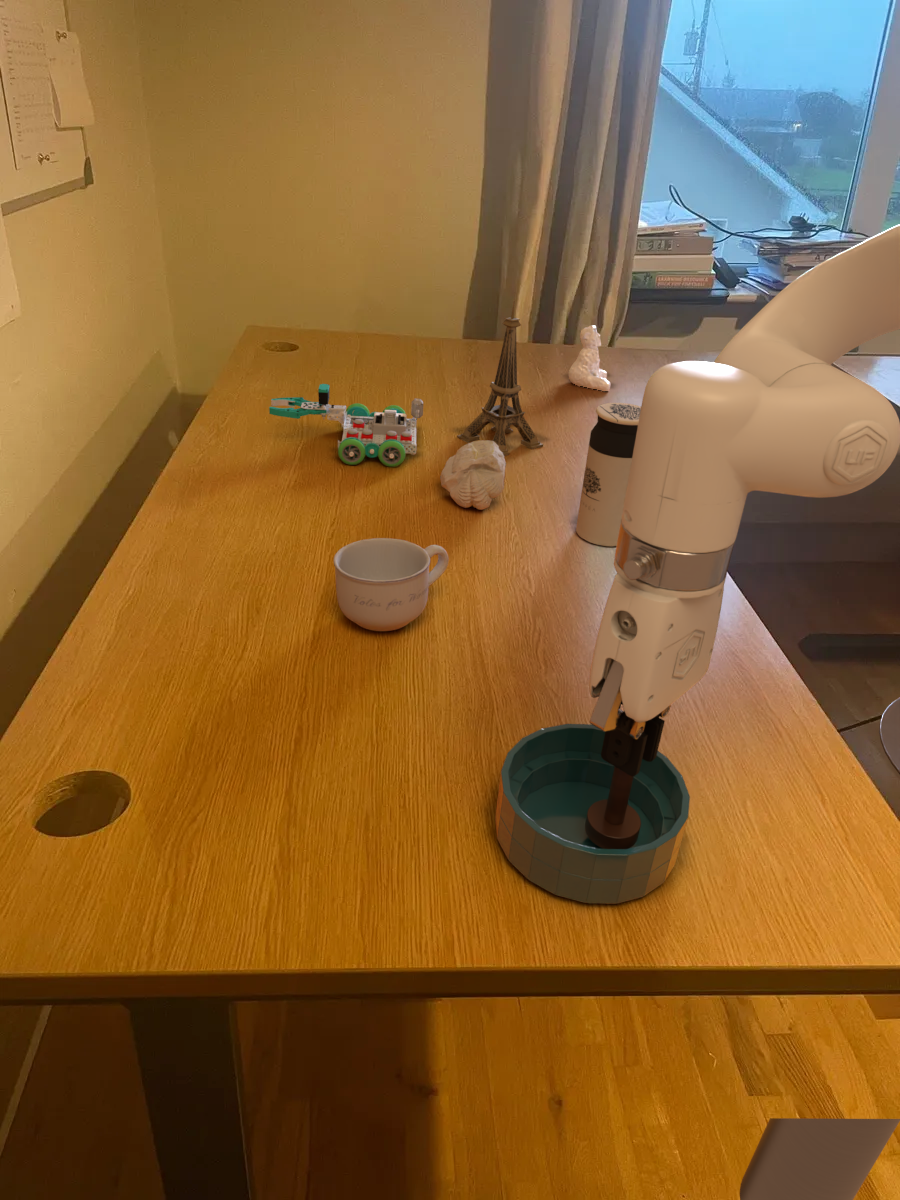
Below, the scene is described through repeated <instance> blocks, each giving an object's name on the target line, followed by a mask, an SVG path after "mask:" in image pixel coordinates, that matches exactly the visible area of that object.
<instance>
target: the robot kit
mask: <svg viewBox="0 0 900 1200" xmlns="http://www.w3.org/2000/svg"><path fill="white" fill-rule="evenodd" d="M317 392H318V394H317V396H318V401H310V400H307V399H304V397H302V396H294V397H293V396H292V397H276V398H271V400H270V401H271V402H270V404H271V405H270V406H269V407H268V412H269V415H272V416H277V417H283V418H290V419H297V420H299V419H301V417H304V416H309V415H313V416H314V415H315V416H316V415H319V416H321V418H322V420H325V418H326V419H327V420H328V421H338V422H339V423H340V425H341V428H342V431H343V432H342V437H341V441H340V440H339V439H337V455H338V458H339V459H340V461H341V462H343V463H344V464H346V465H347V466H357V465H359V464H360V463H362V462H363V461H364V459H365V457H368V458H370V459H371V458H372V459H373V458H374V459H375V458H377V457H378V460H379V462H380V463H381V464H382V465H384V466H385V467H389V468H396V467H398V466H400V465H402V464H403V462H404V461H405V459H406V454H410V455H411V456H415V455H416V454H417V449H418V448H417V446H418V445H417V444H418V443H417V424H418V423H417V421H418V419H420V418H422V417H423V416H424V401H423V400H422V399H421V398H414V399H413V400H411V407H410V409H411V410H410V411H411V412H410V416H412V418H407V413H406V411H405V410H404V409H403V408H402V407H401V406H400V405H395V404H391V405H388V406H386V407H385V408H384V409H383V410H382V412H380V411H372V412H370V409H369V408H368V407H367V406H366V405H364V404H362V403H360V402H359V403H358V402H356V403H352V404H350V405H349V406H348V407H347V406H346V404H345V405H339V404H337V405H335V404H329V401H330V384H328V383H320V384H319V385H318V390H317ZM279 406H283V407H279ZM284 406H285V407H284ZM296 407H298V408H296Z"/></svg>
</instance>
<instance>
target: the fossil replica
mask: <svg viewBox="0 0 900 1200" xmlns="http://www.w3.org/2000/svg"><path fill="white" fill-rule="evenodd" d="M506 467H507V462H506V459H505V456H504V455H503V453H502V452H501V451H500V450H499V446H498V445H497V444H496V443H495V442H494V441H493V440H489V439H486V440H485V439H484V440H482V439H479V440H475V441H471V442H467V443H466V444H464V445H462V446H461V447H460V448H458V449H457V450H456V452H455V454H454V455H452V456H450V457H449V458H448V459H447V460H446V462H445V464H444V467H443V468H442V470H441V473H440V476H439V479H440V482H441V484H440V487H442V488H443V489H445V490H446V491H447V492H449V495H450V498H451V499H452V500H453V501H454V502H455V503H456V504H457V505H458V506H460V507H461V508H465V509H468V508H470V507H473V508H476V510H481V511H482V510H485V509H488V508H490V506H491V502H492V501H493V499H495V498H497V497H499V496H500V495H501V494H502V493H503V491H504V489H505V488H504V487H505V480H506Z"/></svg>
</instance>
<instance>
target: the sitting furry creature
mask: <svg viewBox="0 0 900 1200" xmlns="http://www.w3.org/2000/svg"><path fill="white" fill-rule="evenodd" d="M579 339H580V343H581V346H582V348H581V349H580V350H579V353H578V356H576V360H575V361H574V362H573V363H572V365H571V366H570V368H569V370H568V371H567V378H568V380H569V382H570V383H571V384H573V385H574V384H575V385H574V386H576V385H578V386H577V387H580V386H583V387H582V388H584V387H587V388H586V389H588V388H593V389H597V390H596V391H598V390H602V391H609V392H610V389H611V384H612V383H611V382H610V381H609V380H608V379H607V378H608V372H607V371H606V370H603V368H600V362H601V359H600V355H599V354H600V353H599V347H601V346H602V342H601V333H599V332H598V331H597V326H596V325H593V324H590V325H589V326H587V327H586V326H585V327H583V328H582V329H581V331H580V334H579ZM593 389H592V390H593ZM602 391H601V392H602Z"/></svg>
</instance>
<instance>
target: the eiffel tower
mask: <svg viewBox="0 0 900 1200" xmlns="http://www.w3.org/2000/svg"><path fill="white" fill-rule="evenodd" d="M515 299H516V293H514V296H513V302H512V309H511V316H509V317H504V321H503V322H502V324H503V326H505V333H504V336H503V337H504V338H503V342H502V347H501V352H500V357H499V361H498V365H497V370H496V374H495V378H494V381H490V384H489V388H491V391H490V394H489V397H488V400H487V402H486V403H485V405H484V406H483V407H481V411H482V412H480V414H479V415H478V416H477V417H475V419H473V421H472V422H471V423H469V425H467V427H466V428H465V429H464V431H463V432H462V433H460V434H458V435H457V436H456V438H457V439H459V440H461V441H463V442H465V443H472V442H473V441H479V440H480V437H481V436H480V435H479V434H480V433H481V432H482V430H483V429H484V428H485V427H486V426H487V425H489V424H492V425H494V426H492V427H490V429H491V431H494V432H495V433H494V436H493V439H492V441H494V442H495V443H496V444H497V445H498V446H499V450H500V451H501V452H502V453H503V455H504V457H506V456H509V455H510V452H509V450H508V449H507V439H506V434H509V433H513V432H514V429H512V428H511V426H514V427H515V428H516V429H517V431H518V433H519V435H520V437H521V438H522V439H521V440H520V445H522V446H524V447H526V448H528V449H531V450H533V449H537V448H542V447H544V443H542V442H540V441H539V439H538V436H537V435H536V433H535V432H534V431H533V428H532V427H531V425H530V424H529V422H528V421H527V420H526V418H525V416H524V415H525V414H526V412H525V411H523V409H522V406H521V402H520V397H519V393H520V392H521V391H522V386H521V385H519V384H518V362H517V361H518V359H517V353H518V352H517V328H518V327H521V326H522V324H521V323H520V321H521V318H517V317H515V304H516V303H515V301H516V300H515ZM498 397H500V404H497V405H496V401H497V399H498ZM509 399H511V404H512V406H510V405H509V401H510V400H509ZM541 446H542V447H541Z"/></svg>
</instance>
